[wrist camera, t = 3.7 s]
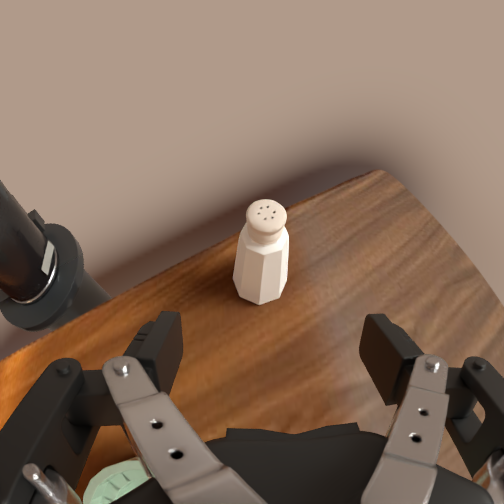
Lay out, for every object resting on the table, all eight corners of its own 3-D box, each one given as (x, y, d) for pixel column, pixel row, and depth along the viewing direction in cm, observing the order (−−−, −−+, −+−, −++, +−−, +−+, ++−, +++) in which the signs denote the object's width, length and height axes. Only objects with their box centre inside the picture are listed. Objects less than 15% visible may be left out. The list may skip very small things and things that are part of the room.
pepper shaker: (221, 278, 30) (210, 210, 20) (260, 247, 32) (266, 173, 22) (258, 316, 28) (266, 262, 18) (297, 281, 30) (321, 215, 20)
